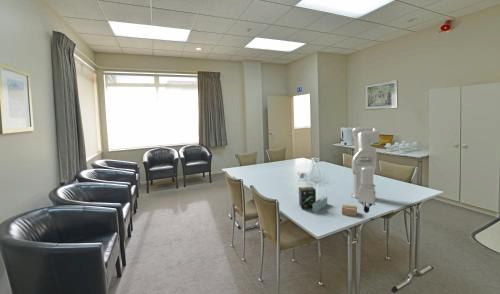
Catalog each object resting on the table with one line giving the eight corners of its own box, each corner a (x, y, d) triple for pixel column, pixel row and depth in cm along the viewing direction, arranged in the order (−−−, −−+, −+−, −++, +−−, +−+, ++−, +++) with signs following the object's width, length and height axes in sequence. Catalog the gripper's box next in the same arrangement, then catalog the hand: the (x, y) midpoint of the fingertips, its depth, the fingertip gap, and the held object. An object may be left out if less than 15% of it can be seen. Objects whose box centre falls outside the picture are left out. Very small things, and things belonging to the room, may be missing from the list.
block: (343, 211, 174) (343, 204, 173) (356, 212, 170) (356, 206, 169) (341, 214, 168) (341, 207, 167) (355, 216, 164) (356, 209, 163)
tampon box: (312, 204, 189) (312, 186, 188) (316, 208, 180) (316, 189, 178) (298, 204, 189) (298, 186, 187) (301, 209, 180) (301, 190, 178)
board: (323, 203, 190) (323, 196, 189) (327, 204, 188) (327, 196, 187) (312, 211, 175) (312, 203, 174) (316, 212, 173) (316, 204, 172)
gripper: (380, 185, 157) (380, 212, 159) (356, 182, 167) (356, 208, 169) (378, 188, 151) (377, 216, 153) (353, 185, 161) (353, 211, 163)
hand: (366, 212), depth 161 cm, fingers closed
